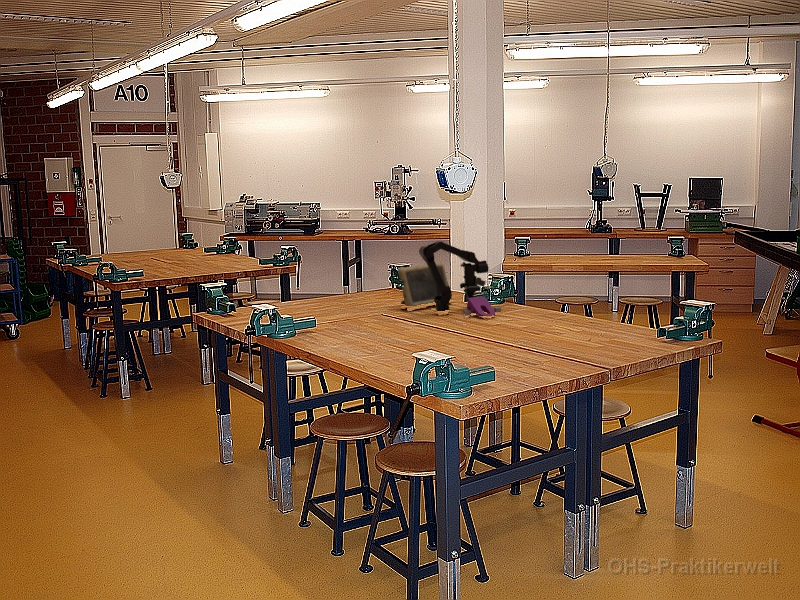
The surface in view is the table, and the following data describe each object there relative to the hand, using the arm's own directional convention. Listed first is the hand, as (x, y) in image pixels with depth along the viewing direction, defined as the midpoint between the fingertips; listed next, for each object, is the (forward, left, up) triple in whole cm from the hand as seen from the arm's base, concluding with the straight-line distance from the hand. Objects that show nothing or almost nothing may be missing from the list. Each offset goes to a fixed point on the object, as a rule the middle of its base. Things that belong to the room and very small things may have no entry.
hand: (470, 302), depth 451 cm
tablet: (-18, +28, -5) cm, 34 cm away
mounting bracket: (0, -18, -6) cm, 19 cm away
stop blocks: (0, -18, -5) cm, 19 cm away
